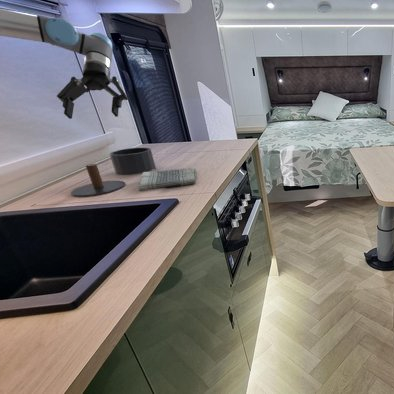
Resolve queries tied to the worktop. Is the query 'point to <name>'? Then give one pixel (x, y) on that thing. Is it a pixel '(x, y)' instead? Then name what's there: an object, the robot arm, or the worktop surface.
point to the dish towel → (167, 178)
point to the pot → (132, 161)
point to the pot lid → (96, 184)
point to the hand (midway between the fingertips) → (91, 115)
